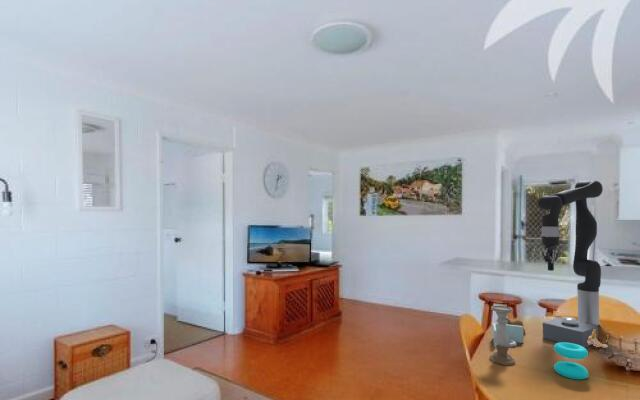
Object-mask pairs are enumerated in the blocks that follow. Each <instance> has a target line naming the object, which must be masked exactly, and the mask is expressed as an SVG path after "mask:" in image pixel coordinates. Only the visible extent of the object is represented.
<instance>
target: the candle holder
mask: <svg viewBox="0 0 640 400" xmlns="http://www.w3.org/2000/svg"><path fill="white" fill-rule="evenodd" d="M490 310H491V311H494V312H495V314H496V315H497V319H496V323H498V330H497V333H496V335H495V337H494V340H495V343H496V344H497V345H496V346H495V347H494V348H495V349H496V351H495V352H493V353H492V354H490V355H489V360H490V361H491V362H493V363H494V364H497V365H503V366H512V365H515V363H516V360H515V358H513V357H512V355H511V354H508V351H509V350H510V347H509V346H508V345H509V343H510V339H509V336H508V334H507V332H506V323H507V320H506V317H507V316H508V315H509V314H511V313H513V312H514V310H513V308H512V307H509V306H505V305H492V306H491V307H490ZM494 340H493V341H494Z"/></svg>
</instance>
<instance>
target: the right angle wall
mask: <svg viewBox="0 0 640 400" xmlns="http://www.w3.org/2000/svg"><path fill="white" fill-rule="evenodd" d="M492 327H493V328H492V330H493V333H492V334H493V335H492V336H493V345H494V346H493V347H494V348H496V347H495V346H496V345H497V344H496V343H495V340H494V337H495V335H496V333H497V330H498V322H493V323H492ZM523 327H524V325H523V326H516V325H507V324H506V332H507V334H508V336H509V339H510V343H509V345H508V347H509V348H515V347H517V345H518V343H519V344H520V343H524V335H523Z"/></svg>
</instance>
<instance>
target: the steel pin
mask: <svg viewBox="0 0 640 400" xmlns="http://www.w3.org/2000/svg"><path fill="white" fill-rule="evenodd" d="M560 318H561V322H562V324H564V325H567V326H573V327H575V326H579V324H578V318H575V317H571V316H561V317H560Z"/></svg>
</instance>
